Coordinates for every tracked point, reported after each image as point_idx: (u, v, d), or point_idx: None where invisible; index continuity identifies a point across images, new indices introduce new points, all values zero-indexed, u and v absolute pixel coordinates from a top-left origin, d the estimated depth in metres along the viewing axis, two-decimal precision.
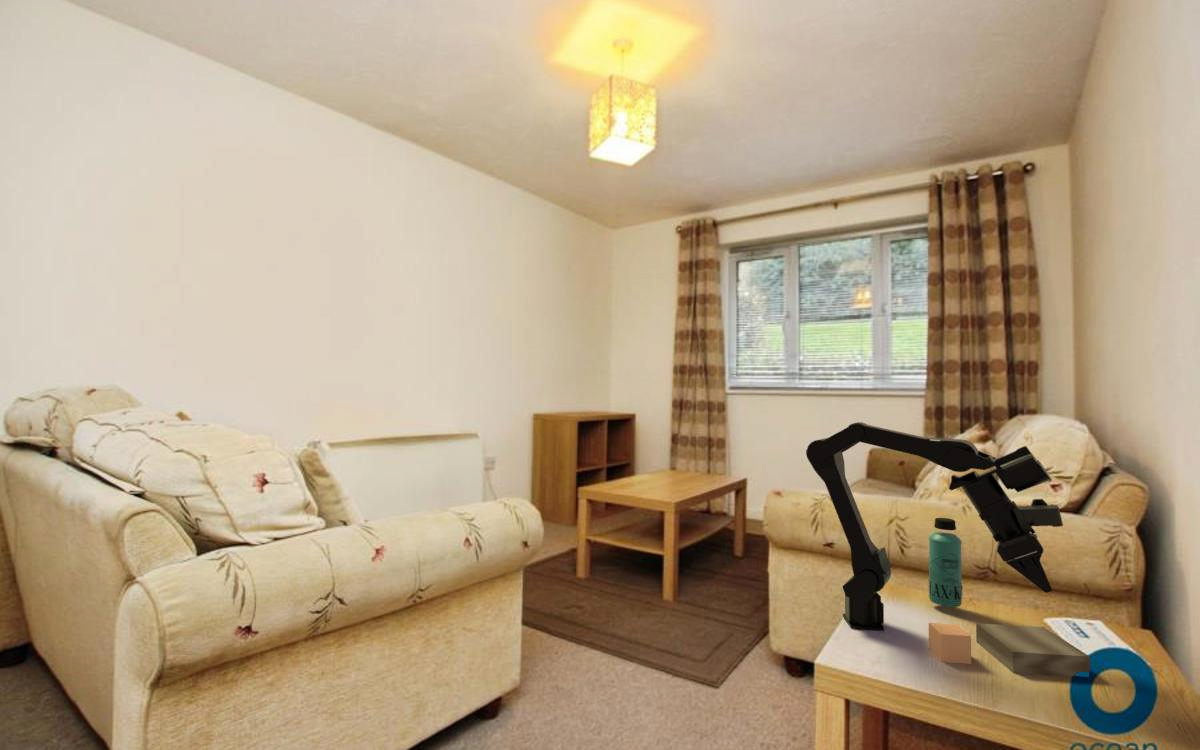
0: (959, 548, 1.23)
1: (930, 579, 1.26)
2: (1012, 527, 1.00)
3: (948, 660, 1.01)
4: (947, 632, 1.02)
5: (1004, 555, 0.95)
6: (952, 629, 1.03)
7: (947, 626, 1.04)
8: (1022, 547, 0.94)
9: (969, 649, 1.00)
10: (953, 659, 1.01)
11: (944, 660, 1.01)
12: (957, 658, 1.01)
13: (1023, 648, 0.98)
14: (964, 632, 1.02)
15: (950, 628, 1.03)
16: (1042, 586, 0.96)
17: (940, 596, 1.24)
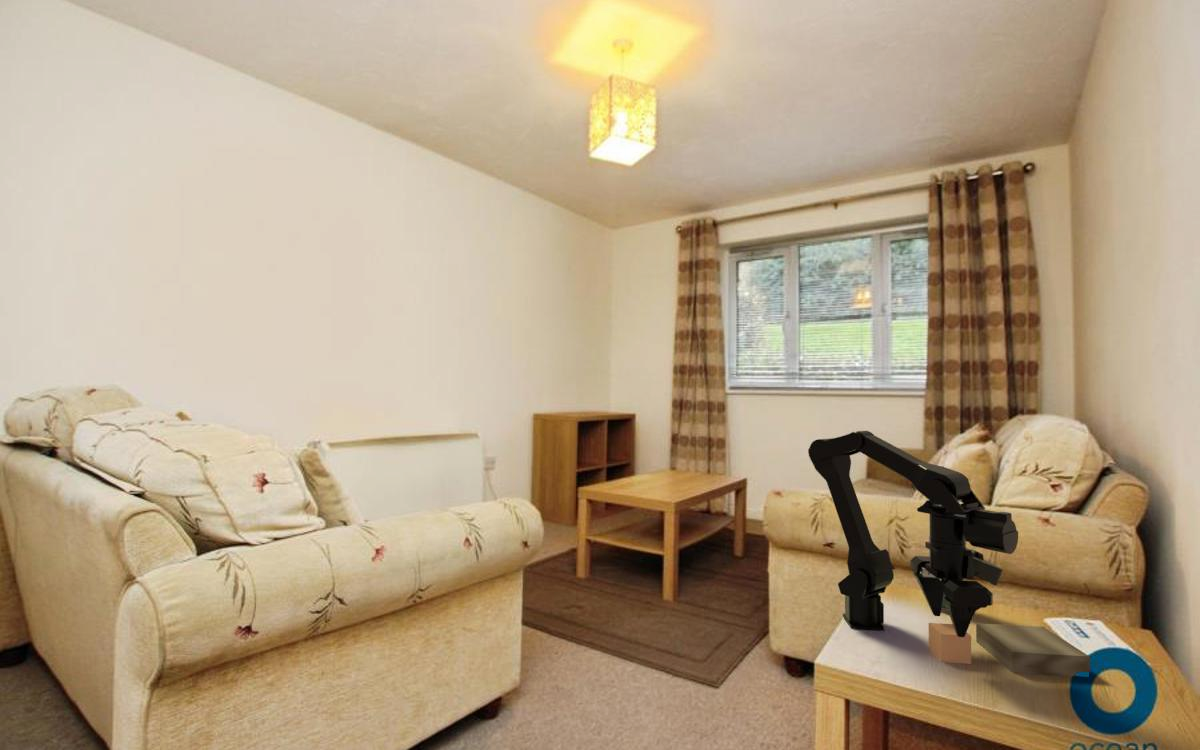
0: None
1: None
2: (959, 571, 1.01)
3: (948, 660, 1.01)
4: (947, 632, 1.02)
5: (958, 598, 0.95)
6: (952, 629, 1.03)
7: (947, 626, 1.04)
8: (978, 597, 0.94)
9: (969, 649, 1.00)
10: (953, 659, 1.01)
11: (944, 660, 1.01)
12: (957, 658, 1.01)
13: (1023, 648, 0.98)
14: None
15: (950, 628, 1.03)
16: (959, 631, 0.99)
17: None
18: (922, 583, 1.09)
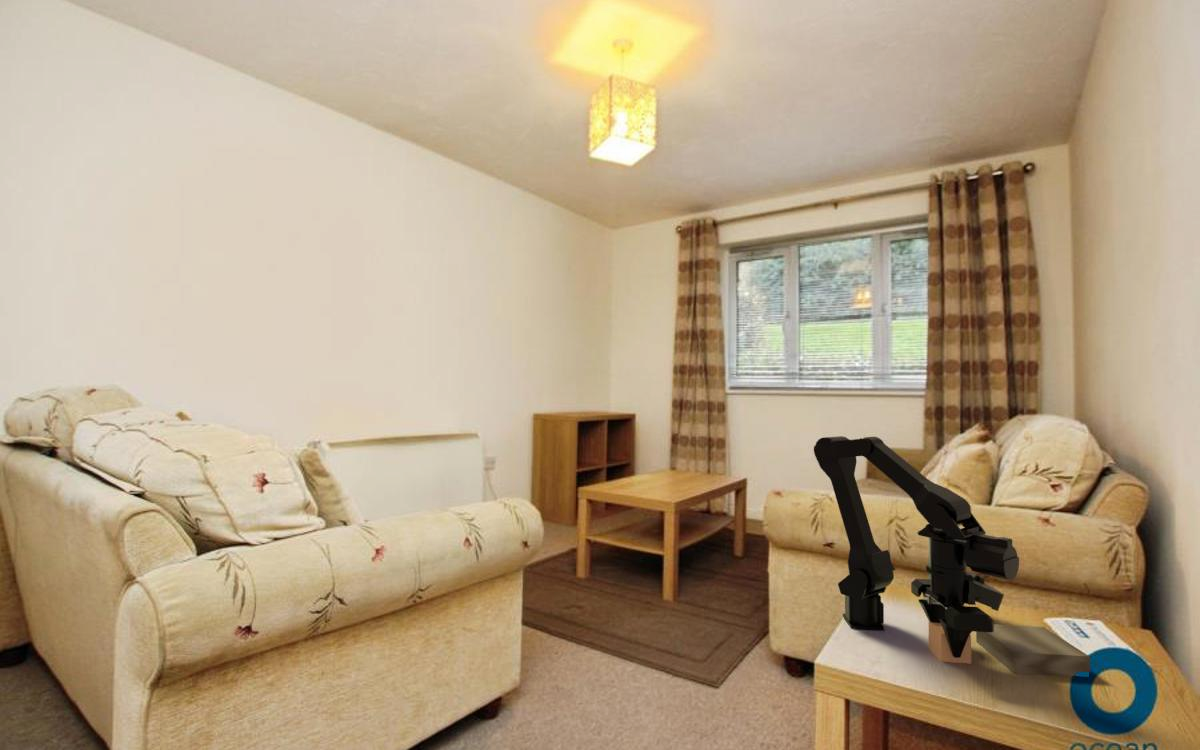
0: None
1: None
2: (960, 596, 1.01)
3: (948, 659, 1.01)
4: None
5: (959, 625, 0.94)
6: None
7: None
8: (979, 624, 0.94)
9: (969, 648, 1.00)
10: (953, 658, 1.01)
11: (944, 659, 1.01)
12: None
13: (1022, 648, 0.98)
14: None
15: None
16: (954, 651, 1.00)
17: None
18: (927, 610, 1.07)
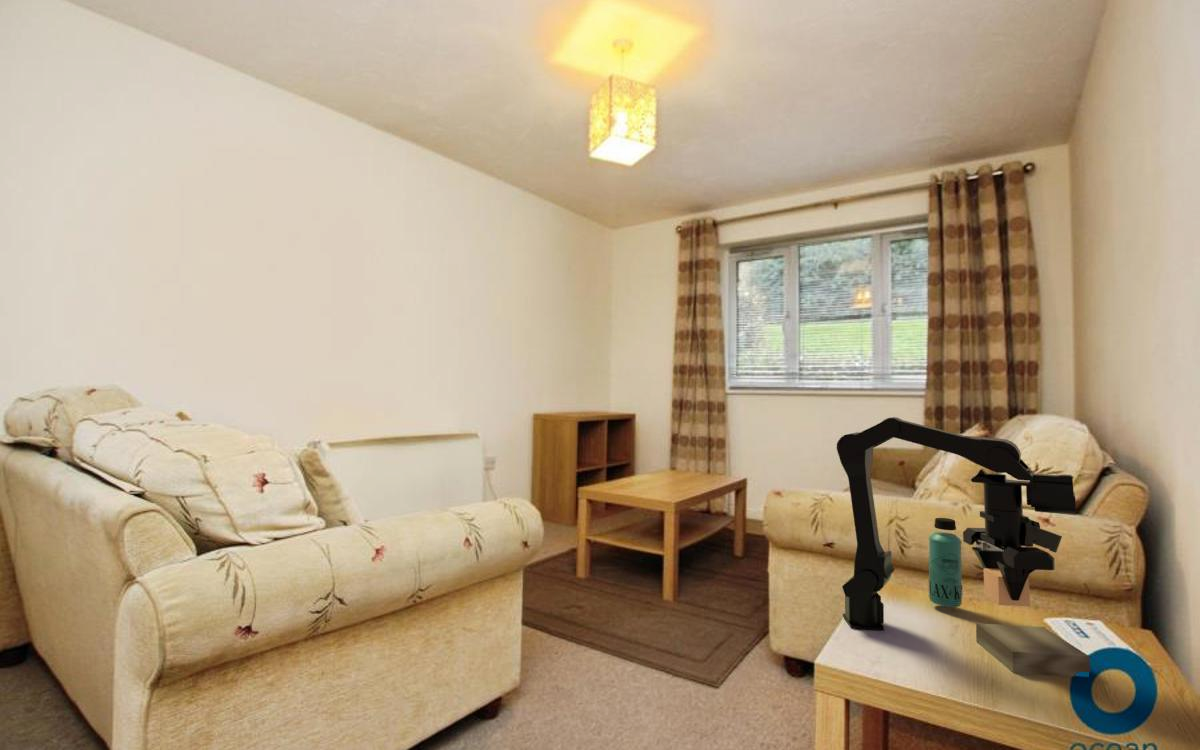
0: (959, 548, 1.23)
1: (930, 579, 1.26)
2: (1017, 538, 1.00)
3: (1006, 603, 1.00)
4: None
5: (1019, 563, 0.94)
6: None
7: None
8: (1040, 562, 0.93)
9: (1027, 591, 1.00)
10: (1011, 601, 1.00)
11: (1002, 603, 1.00)
12: None
13: (1022, 648, 0.98)
14: None
15: None
16: (1013, 594, 1.00)
17: (940, 596, 1.24)
18: (982, 557, 1.06)
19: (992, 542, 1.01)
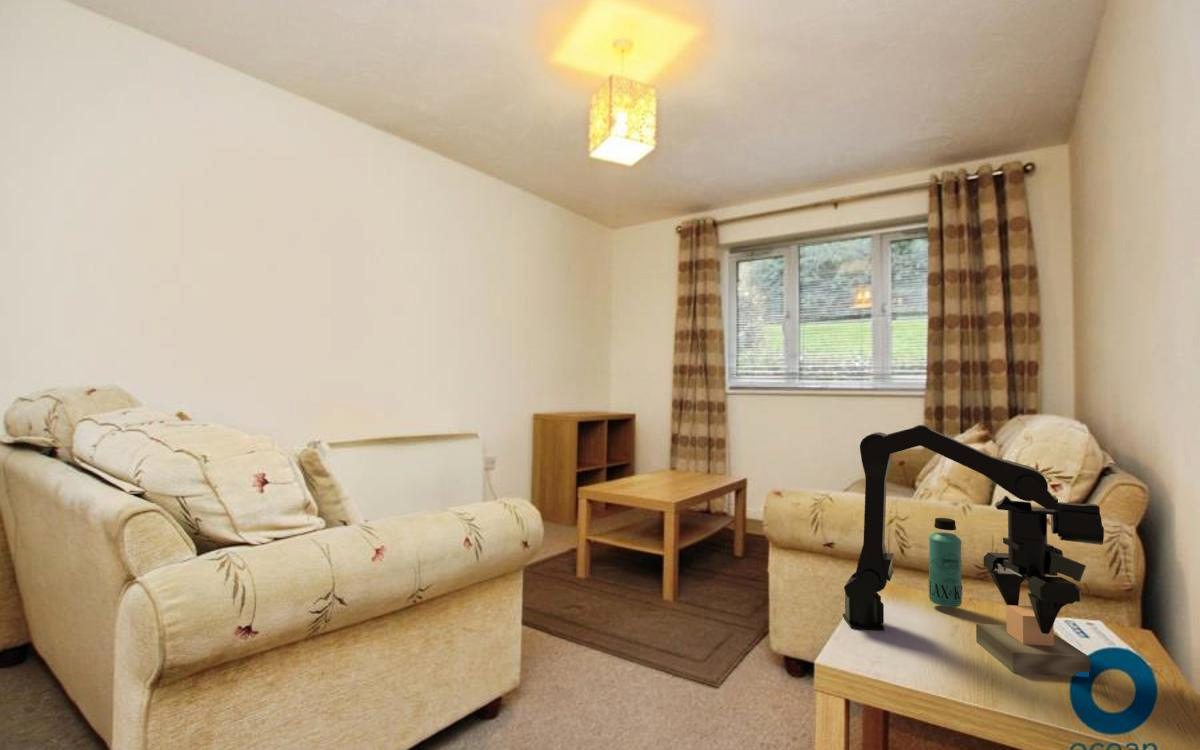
0: (959, 548, 1.23)
1: (930, 579, 1.26)
2: (1041, 567, 1.00)
3: (1030, 642, 1.00)
4: (1028, 614, 1.01)
5: (1046, 594, 0.94)
6: (1032, 611, 1.03)
7: (1027, 608, 1.04)
8: (1066, 593, 0.93)
9: (1052, 631, 1.00)
10: (1035, 641, 1.00)
11: (1026, 642, 1.00)
12: (1039, 640, 1.00)
13: (1022, 648, 0.98)
14: None
15: (1030, 610, 1.03)
16: (1043, 627, 0.98)
17: (940, 596, 1.24)
18: (998, 579, 1.08)
19: (1016, 570, 1.01)
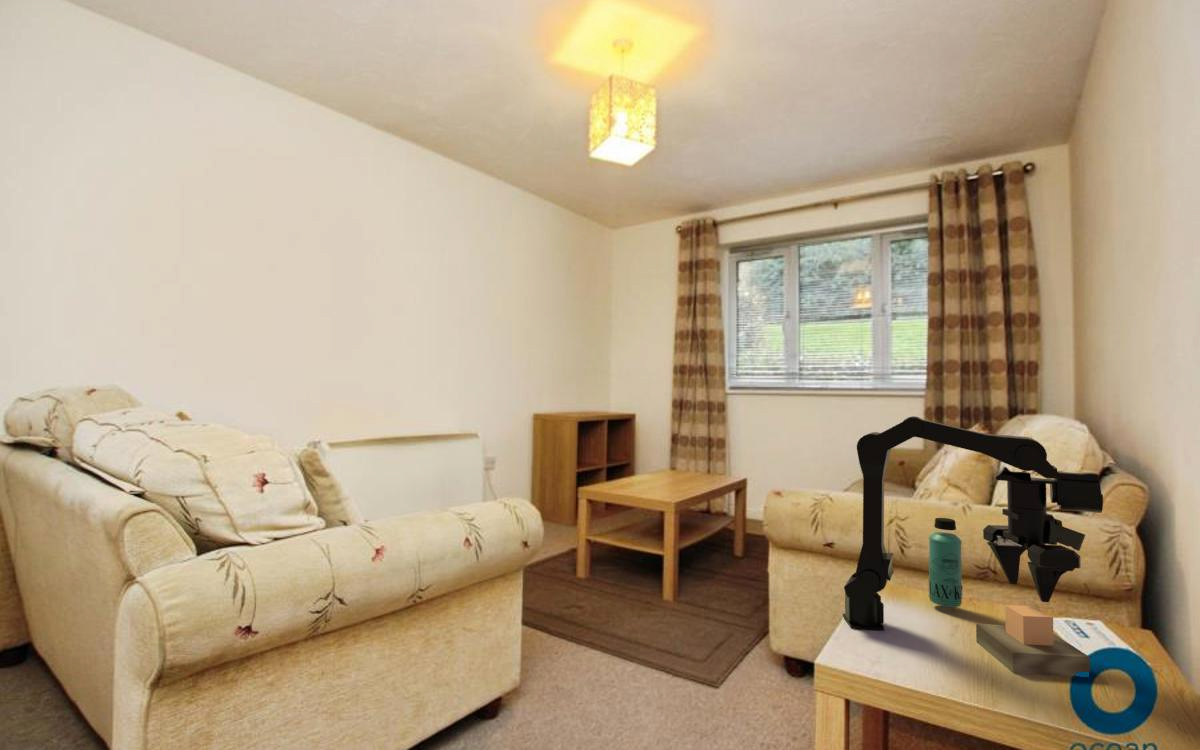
0: (959, 548, 1.23)
1: (930, 579, 1.26)
2: (1041, 536, 1.00)
3: (1030, 642, 1.00)
4: (1028, 614, 1.01)
5: (1046, 561, 0.94)
6: (1031, 610, 1.03)
7: (1026, 608, 1.04)
8: (1066, 560, 0.93)
9: (1051, 630, 1.00)
10: (1035, 641, 1.00)
11: (1026, 642, 1.00)
12: (1039, 640, 1.00)
13: (1022, 649, 0.98)
14: (1044, 613, 1.01)
15: (1029, 610, 1.03)
16: (1043, 596, 0.98)
17: (940, 596, 1.24)
18: (998, 551, 1.08)
19: (1016, 540, 1.01)
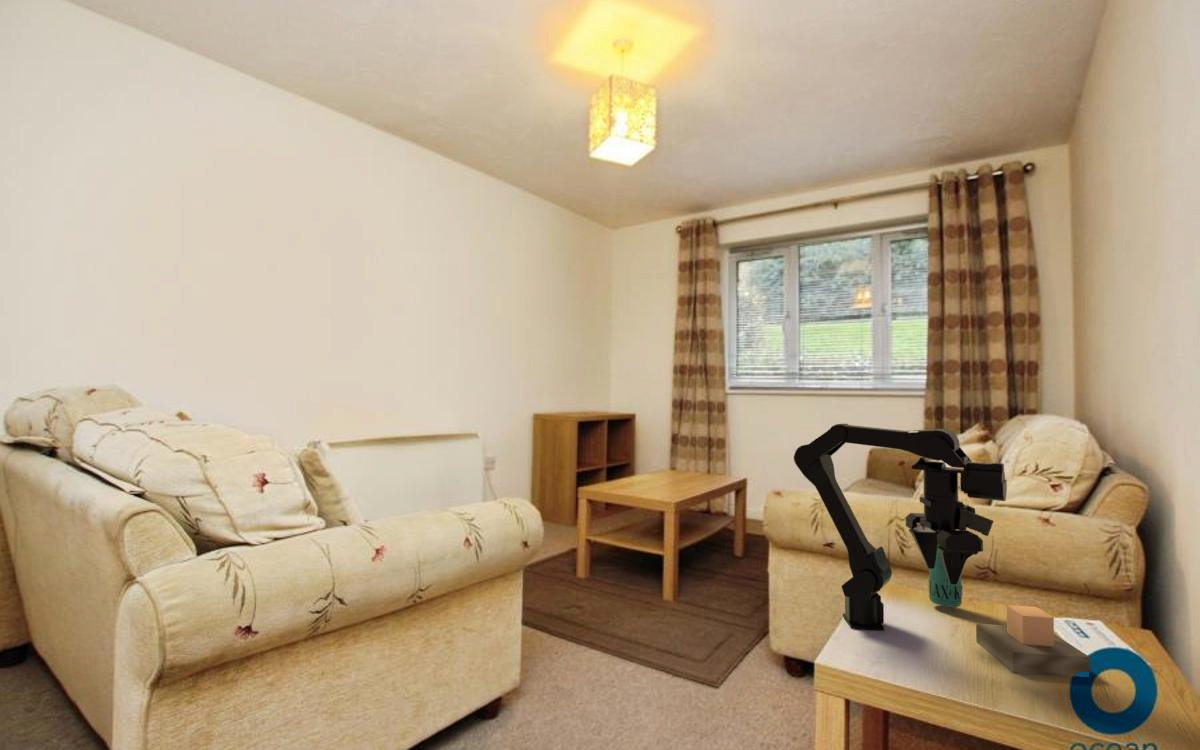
0: None
1: (930, 579, 1.26)
2: (951, 522, 1.06)
3: (1030, 642, 1.00)
4: (1029, 614, 1.01)
5: (950, 545, 1.00)
6: (1032, 611, 1.02)
7: (1027, 609, 1.03)
8: (969, 544, 0.99)
9: (1052, 631, 1.00)
10: (1035, 641, 1.00)
11: (1026, 642, 1.00)
12: (1039, 640, 1.00)
13: (1022, 648, 0.98)
14: (1045, 614, 1.01)
15: (1030, 610, 1.03)
16: (951, 578, 1.03)
17: (940, 596, 1.24)
18: (917, 537, 1.14)
19: (929, 526, 1.07)
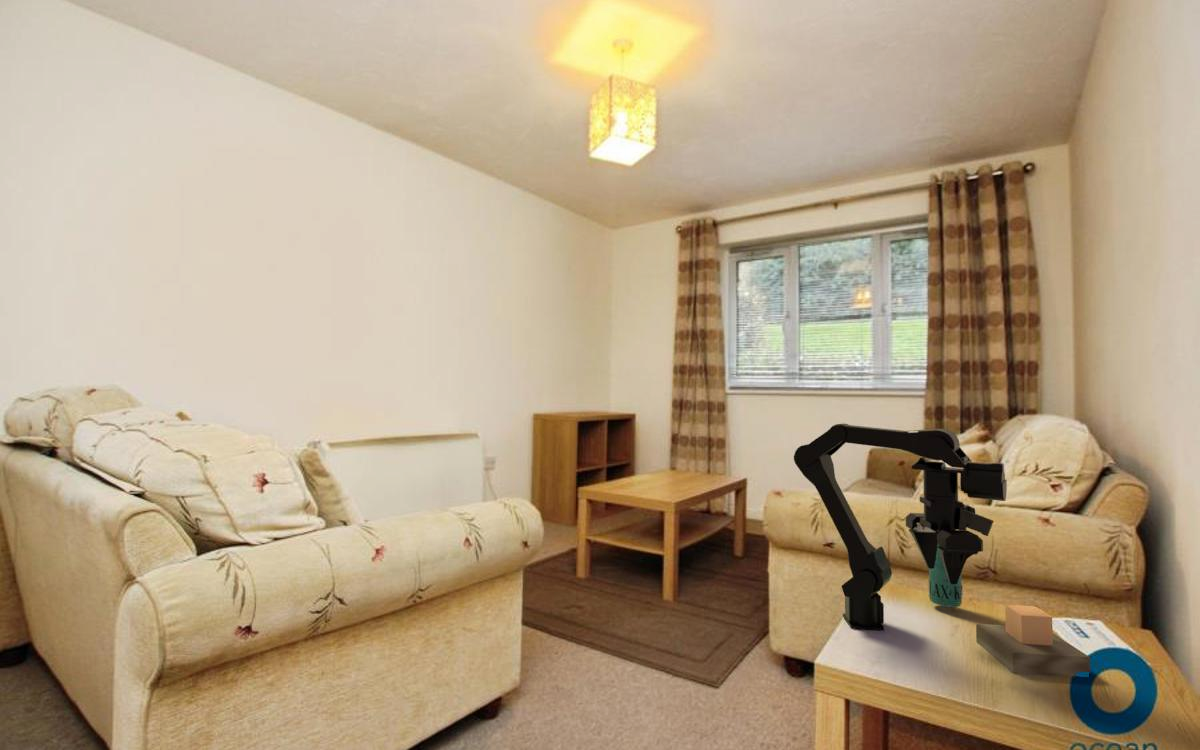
0: None
1: (930, 579, 1.26)
2: (951, 522, 1.06)
3: (1029, 641, 1.00)
4: (1027, 614, 1.01)
5: (950, 545, 1.00)
6: (1031, 610, 1.03)
7: (1026, 608, 1.04)
8: (969, 544, 0.99)
9: (1050, 630, 1.00)
10: (1034, 640, 1.00)
11: (1025, 641, 1.00)
12: (1038, 639, 1.00)
13: (1023, 649, 0.98)
14: (1044, 613, 1.01)
15: (1029, 610, 1.03)
16: (951, 578, 1.03)
17: (940, 596, 1.24)
18: (917, 537, 1.14)
19: (929, 526, 1.07)
